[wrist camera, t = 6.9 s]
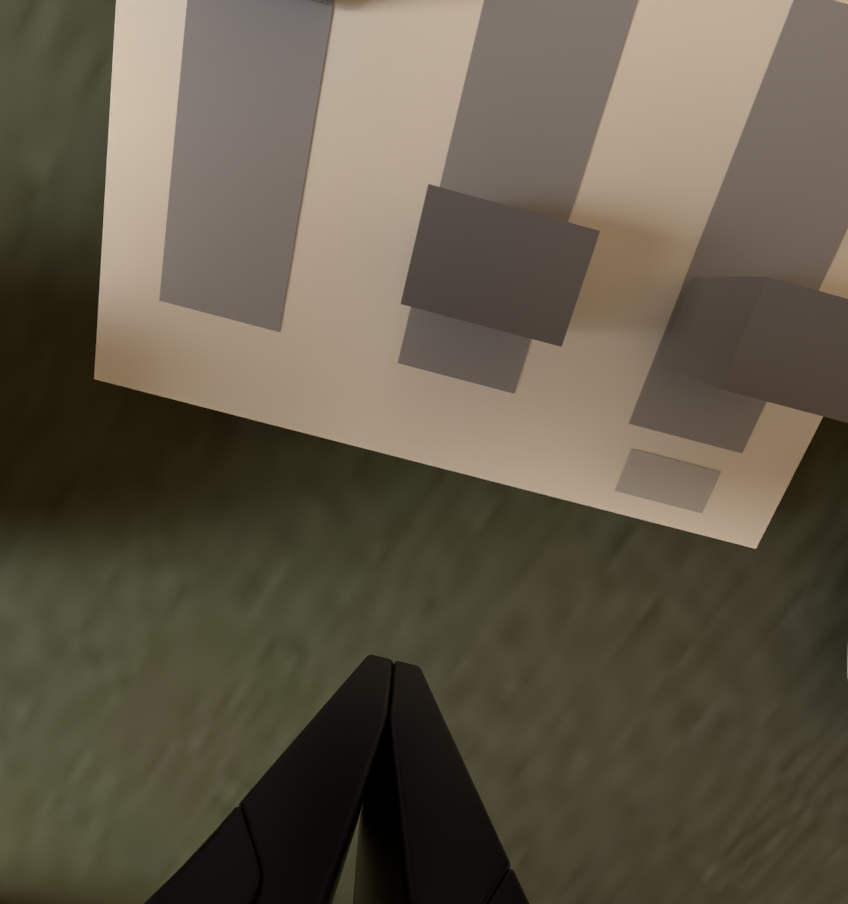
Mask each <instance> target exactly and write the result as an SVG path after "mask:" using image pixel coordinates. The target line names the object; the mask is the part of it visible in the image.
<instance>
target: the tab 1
mask: <svg viewBox="0 0 848 904" xmlns="http://www.w3.org/2000/svg"><path fill="white" fill-rule="evenodd" d="M312 1H316V2H319V3H323V4H326V5H328V2H329V0H312Z"/></svg>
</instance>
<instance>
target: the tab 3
mask: <svg viewBox="0 0 848 904" xmlns="http://www.w3.org/2000/svg"><path fill="white" fill-rule="evenodd" d="M659 365H662V366H664V367H667V368H669V369H672V370H674V371H677V372H679V373H681V374H684V375H686V376H689V377H691V378H694V379H696V380H699V381H701V382H704V383H706V384H709V385H711V386H714V387H716V388H718V389H722V390H725V391H729V392H733V393H737V394H740V395H744V396H748V397H752V398H756V399H759V400H763V401H767V402H771V403H774V404H778V405H782V406H786V407H789V408H793V409H797V410H801V411H804V412H808V413H812V414H816V415H819V416H823V417H827V418H831V419H834V420H838V421H842V422H846V423H848V299H847V298H843V297H839V296H836V295H832V294H828V293H825V292H821V291H818V290H814V289H810V288H807V287H803V286H799V285H796V284H792V283H788V282H785V281H781V280H777V279H774V278H770V277H719V278H692V281H691V283H690V286H689V288H688V291H687V293H686V296H685V298H684V301H683V303H682V306H681V309H680V311H679V314H678V316H677V319H676V321H675V324H674V326H673V329H672V331H671V334H670V336H669V339H668V342H667V344H666V347H665V349H664V352H663V354H662V357H661V359H660V362H659Z"/></svg>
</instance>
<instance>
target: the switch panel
mask: <svg viewBox="0 0 848 904" xmlns="http://www.w3.org/2000/svg"><path fill="white" fill-rule="evenodd" d="M428 184H431V185H434V186H438V187H441V188H445V189H449V190H452V191H456V192H460V193H463V194H467V195H471V196H474V197H478V198H482V199H485V200H489V201H493V202H496V203H500V204H504V205H507V206H511V207H514V208H518V209H522V210H525V211H529V212H533V213H536V214H540V215H544V216H547V217H551V218H555V219H558V220H562V221H566V222H569V223H573V224H577V225H580V226H584V227H588V228H591V229H595V230H598V231H600V233H599V236H598V239H597V242H596V245H595V248H594V251H593V254H592V257H591V260H590V263H589V266H588V269H587V272H586V275H585V278H584V281H583V284H582V287H581V290H580V293H579V296H578V299H577V302H576V305H575V308H574V311H573V314H572V317H571V320H570V323H569V326H568V329H567V332H566V335H565V338H564V341H563V344H562V347H560V346H556V345H552V344H549V343H545V342H541V341H537V340H534V339H530V338H526V337H522V336H519V335H515V334H511V333H507V332H504V331H500V330H496V329H492V328H489V327H485V326H481V325H477V324H474V323H470V322H466V321H462V320H459V319H455V318H451V317H447V316H443V315H440V314H436V313H432V312H428V311H425V310H421V309H417V308H413V307H410V306H406V305H402V304H401V300H402V295H403V291H404V287H405V282H406V278H407V274H408V270H409V265H410V261H411V257H412V252H413V248H414V244H415V239H416V235H417V231H418V226H419V222H420V218H421V213H422V209H423V205H424V201H425V196H426V192H427V188H428ZM719 277H770V278H774V279H777V280H781V281H785V282H788V283H792V284H796V285H799V286H803V287H807V288H810V289H814V290H818V291H821V292H825V293H828V294H832V295H836V296H839V297H843V298H847V299H848V0H329V2H328V5H326V4H323V3H319V2H316V1H312V0H116V12H115V29H114V46H113V63H112V80H111V98H110V115H109V132H108V149H107V166H106V183H105V200H104V217H103V235H102V252H101V269H100V286H99V303H98V320H97V337H96V355H95V372H94V379H95V380H99V381H103V382H107V383H111V384H115V385H119V386H122V387H126V388H130V389H134V390H138V391H142V392H146V393H150V394H154V395H158V396H161V397H165V398H169V399H173V400H177V401H181V402H185V403H189V404H193V405H197V406H200V407H204V408H208V409H212V410H216V411H220V412H224V413H228V414H232V415H236V416H239V417H243V418H247V419H251V420H255V421H259V422H263V423H267V424H271V425H275V426H278V427H282V428H286V429H290V430H294V431H298V432H302V433H306V434H310V435H314V436H317V437H321V438H325V439H329V440H333V441H337V442H341V443H345V444H349V445H353V446H356V447H360V448H364V449H368V450H372V451H376V452H380V453H384V454H388V455H392V456H395V457H399V458H403V459H407V460H411V461H415V462H419V463H423V464H427V465H431V466H434V467H438V468H442V469H446V470H450V471H454V472H458V473H462V474H466V475H470V476H473V477H477V478H481V479H485V480H489V481H493V482H497V483H501V484H505V485H509V486H512V487H516V488H520V489H524V490H528V491H532V492H536V493H540V494H544V495H548V496H551V497H555V498H559V499H563V500H567V501H571V502H575V503H579V504H583V505H587V506H590V507H594V508H598V509H602V510H606V511H610V512H614V513H618V514H622V515H626V516H629V517H633V518H637V519H641V520H645V521H649V522H653V523H657V524H661V525H665V526H668V527H672V528H676V529H680V530H684V531H688V532H692V533H696V534H700V535H704V536H707V537H711V538H715V539H719V540H723V541H727V542H731V543H735V544H739V545H743V546H746V547H750V548H754V549H756V548H757V546H758V544H759V542H760V540H761V538H762V536H763V534H764V532H765V530H766V528H767V526H768V524H769V522H770V520H771V518H772V516H773V514H774V512H775V510H776V509H777V507H778V505H779V503H780V501H781V499H782V497H783V495H784V493H785V491H786V489H787V487H788V485H789V483H790V481H791V479H792V477H793V475H794V473H795V471H796V469H797V467H798V465H799V463H800V461H801V459H802V457H803V455H804V453H805V451H806V449H807V447H808V445H809V444H810V442H811V440H812V438H813V436H814V434H815V432H816V430H817V428H818V426H819V424H820V422H821V420H822V418H823V416H819V415H816V414H812V413H808V412H804V411H801V410H797V409H793V408H789V407H786V406H782V405H778V404H774V403H771V402H767V401H763V400H759V399H756V398H752V397H748V396H744V395H740V394H737V393H733V392H729V391H725V390H722V389H718V388H716V387H714V386H711V385H709V384H706V383H704V382H701V381H699V380H696V379H694V378H691V377H689V376H686V375H684V374H681V373H679V372H677V371H674V370H672V369H669V368H667V367H664V366H662V365H659V362H660V359H661V357H662V354H663V352H664V349H665V347H666V344H667V342H668V339H669V336H670V334H671V331H672V329H673V326H674V324H675V321H676V319H677V316H678V314H679V311H680V309H681V306H682V303H683V301H684V298H685V296H686V293H687V291H688V288H689V286H690V283H691V281H692V278H719Z"/></svg>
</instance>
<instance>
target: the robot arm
mask: <svg viewBox="0 0 848 904" xmlns="http://www.w3.org/2000/svg"><path fill="white" fill-rule="evenodd" d="M361 808H362V809H361ZM360 811H361V815H360V824H359V834H358V846H357V859H356V871H355V883H354V896H353V904H529V902H528V900H527V898H526V896H525V894H524V892H523V890H522V887H521V885H520V883H519V881H518V879H517V876H516V874H515V872H514V871H513V870H512V869H510V862H509V859H508V857H507V855H506V853H505V851H504V849H503V846H502V844H501V842H500V840H499V838H498V836H497V833H496V831H495V829H494V827H493V825H492V823H491V820H490V818H489V816H488V814H487V812H486V810H485V807H484V805H483V803H482V801H481V799H480V797H479V794H478V792H477V790H476V788H475V786H474V784H473V781H472V779H471V777H470V775H469V773H468V770H467V768H466V766H465V764H464V762H463V760H462V757H461V755H460V753H459V751H458V749H457V747H456V744H455V742H454V740H453V738H452V736H451V734H450V731H449V729H448V727H447V725H446V723H445V721H444V718H443V716H442V714H441V712H440V710H439V708H438V705H437V703H436V701H435V699H434V697H433V695H432V692H431V690H430V688H429V686H428V684H427V681H426V679H425V677H424V675H423V673H422V671H421V669H420V668H419V667H418V666H416V665H412V664H408V663H404V662H399V661H397V662H395V663H394V664H393V662H392V660H390V659H387V658H383V657H379V656H375V655H369V656H367V657H366V658H365V659H364V660H363V662H362V663H361V664H360V665H359V666H358V667H357V668H356V670H355V671H354V672H353V673H352V674H351V675H350V677H349V678H348V679H347V680H346V681H345V682H344V683H343V685H342V686H341V687H340V688H339V689H338V690H337V691H336V693H335V694H334V695H333V696H332V697H331V698H330V700H329V701H328V702H327V703H326V704H325V705H324V706H323V708H322V709H321V710H320V711H319V712H318V713H317V714H316V716H315V717H314V718H313V719H312V720H311V721H310V723H309V724H308V725H307V726H306V727H305V728H304V729H303V731H302V732H301V733H300V734H299V735H298V736H297V737H296V739H295V740H294V741H293V742H292V743H291V744H290V746H289V747H288V748H287V749H286V750H285V751H284V752H283V754H282V755H281V756H280V757H279V758H278V759H277V760H276V762H275V763H274V764H273V765H272V766H271V767H270V769H269V770H268V771H267V772H266V773H265V774H264V775H263V777H262V778H261V779H260V780H259V781H258V782H257V784H256V785H255V786H254V787H253V788H252V789H251V790H250V792H249V793H248V794H247V795H246V796H245V797H244V798H243V800H242V801H241V802H240V804H239V807H236V808H234V810H233V811H232V812H231V813H230V814H229V815H228V816H227V818H226V819H225V820H224V821H223V822H222V823H221V824H220V826H219V827H218V828H217V829H216V830H215V831H214V832H213V833H212V835H211V836H210V837H209V838H208V839H207V840H206V841H205V842H204V843H203V844H202V845H201V846H200V848H199V849H198V850H197V851H196V852H195V853H194V854H193V855H192V856H191V857H190V858H189V859H188V861H187V862H186V863H185V864H184V865H183V866H182V867H181V868H180V869H179V870H178V871H177V872H176V873H175V874H174V875H173V876H172V877H171V878H170V879H169V880H168V881H167V882H165V883H164V884H163V885H162V886H161V887H160V888H159V889H158V890H157V891H156V892H155V893H154V894H153V895H152V896H151V897H150V898H149V899H148V900H147V901H146V902H145V903H144V904H332V902H333V899H334V896H335V893H336V889H337V886H338V883H339V880H340V877H341V873H342V870H343V867H344V864H345V861H346V857H347V854H348V851H349V848H350V844H351V841H352V838H353V835H354V832H355V828H356V825H357V821H358V818H359V814H360Z"/></svg>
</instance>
